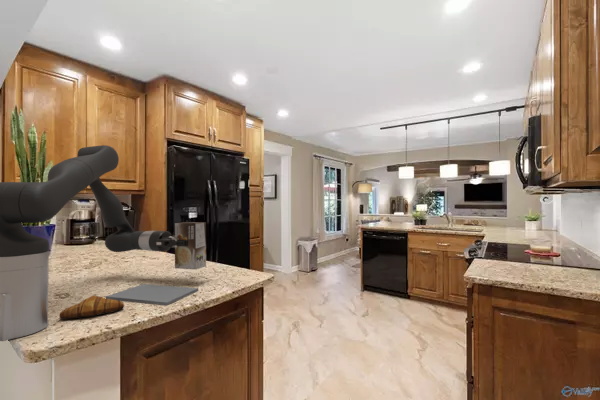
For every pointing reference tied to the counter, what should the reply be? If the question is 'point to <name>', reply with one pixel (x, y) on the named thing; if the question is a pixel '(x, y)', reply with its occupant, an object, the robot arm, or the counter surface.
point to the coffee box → (191, 245)
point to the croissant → (91, 308)
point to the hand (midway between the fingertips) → (194, 242)
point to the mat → (153, 294)
